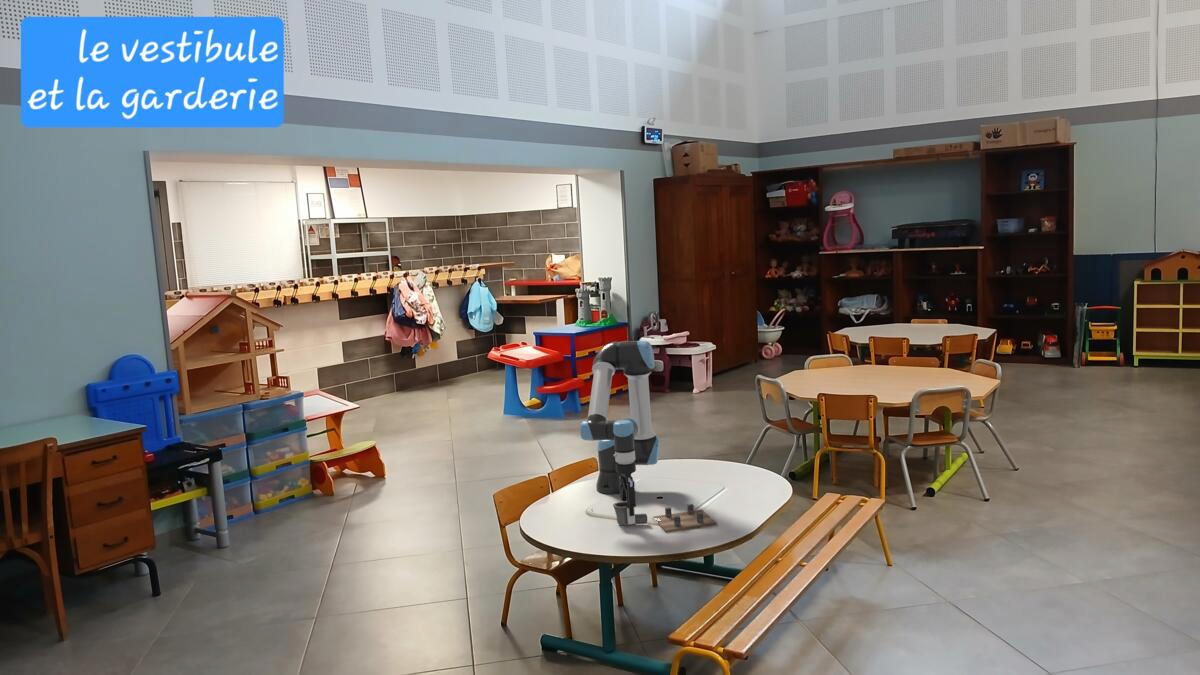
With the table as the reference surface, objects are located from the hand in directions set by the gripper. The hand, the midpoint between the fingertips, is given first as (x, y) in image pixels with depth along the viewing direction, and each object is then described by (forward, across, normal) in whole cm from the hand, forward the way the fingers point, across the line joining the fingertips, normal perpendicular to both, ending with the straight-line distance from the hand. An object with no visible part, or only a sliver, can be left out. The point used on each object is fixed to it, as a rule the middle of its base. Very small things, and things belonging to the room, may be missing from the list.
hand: (629, 520), depth 326 cm
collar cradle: (+1, +6, +20) cm, 21 cm away
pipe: (+2, 0, 0) cm, 2 cm away
